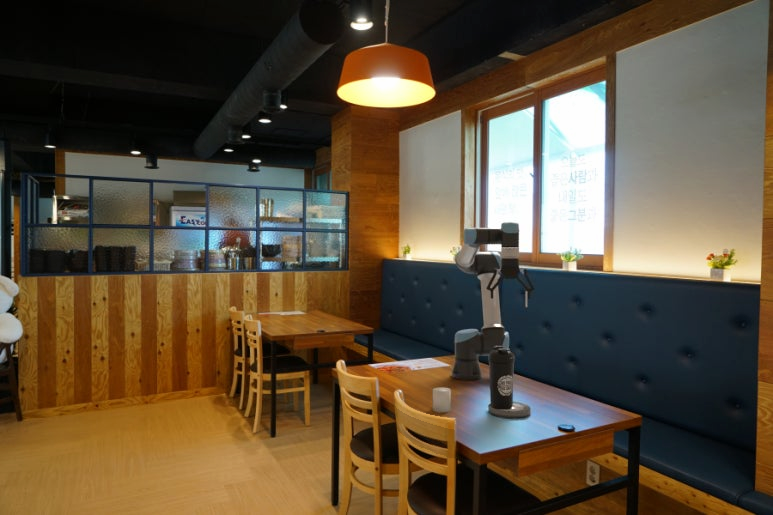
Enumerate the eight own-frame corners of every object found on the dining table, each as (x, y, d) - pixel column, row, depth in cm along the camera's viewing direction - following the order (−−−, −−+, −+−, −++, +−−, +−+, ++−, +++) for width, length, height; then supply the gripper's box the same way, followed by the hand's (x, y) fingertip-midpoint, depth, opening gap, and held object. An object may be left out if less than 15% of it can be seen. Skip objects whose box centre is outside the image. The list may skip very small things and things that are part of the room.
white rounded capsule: (434, 406, 209) (434, 386, 209) (451, 407, 208) (451, 387, 207) (431, 411, 203) (431, 391, 202) (449, 413, 201) (449, 392, 201)
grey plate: (489, 404, 211) (489, 399, 211) (530, 407, 207) (530, 402, 207) (487, 417, 196) (487, 411, 196) (530, 420, 192) (530, 414, 192)
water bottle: (495, 411, 196) (495, 350, 196) (484, 403, 206) (483, 345, 206) (519, 408, 198) (519, 349, 198) (507, 401, 208) (507, 344, 208)
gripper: (480, 257, 224) (480, 306, 224) (540, 257, 218) (540, 308, 218) (481, 257, 231) (481, 304, 232) (539, 257, 225) (539, 306, 225)
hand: (510, 306), depth 225 cm, fingers open, 13 cm apart
